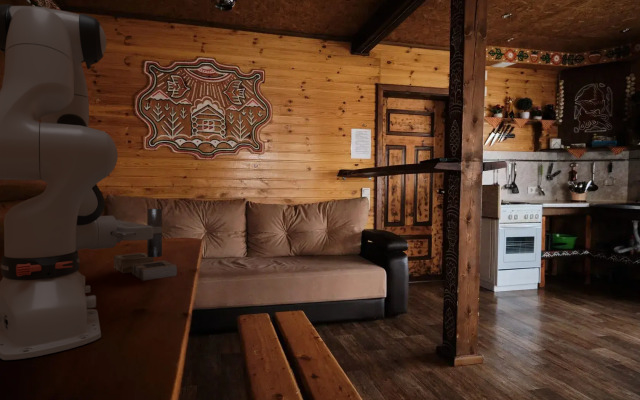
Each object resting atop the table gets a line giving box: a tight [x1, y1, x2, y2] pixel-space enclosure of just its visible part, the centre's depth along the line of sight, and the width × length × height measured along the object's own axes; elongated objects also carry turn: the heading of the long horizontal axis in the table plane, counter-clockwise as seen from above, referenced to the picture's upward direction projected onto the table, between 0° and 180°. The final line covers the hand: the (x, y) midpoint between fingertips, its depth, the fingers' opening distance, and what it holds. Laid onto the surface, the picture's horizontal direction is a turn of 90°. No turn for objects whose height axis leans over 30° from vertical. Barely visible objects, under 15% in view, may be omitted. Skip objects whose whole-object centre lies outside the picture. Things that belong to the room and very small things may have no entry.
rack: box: [113, 252, 155, 274], centre depth 122 cm, size 9×9×4 cm
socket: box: [131, 259, 178, 282], centre depth 115 cm, size 10×10×3 cm
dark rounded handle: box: [146, 208, 163, 258], centre depth 114 cm, size 4×4×14 cm
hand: (157, 228), depth 115 cm, fingers closed on dark rounded handle, 4 cm apart
